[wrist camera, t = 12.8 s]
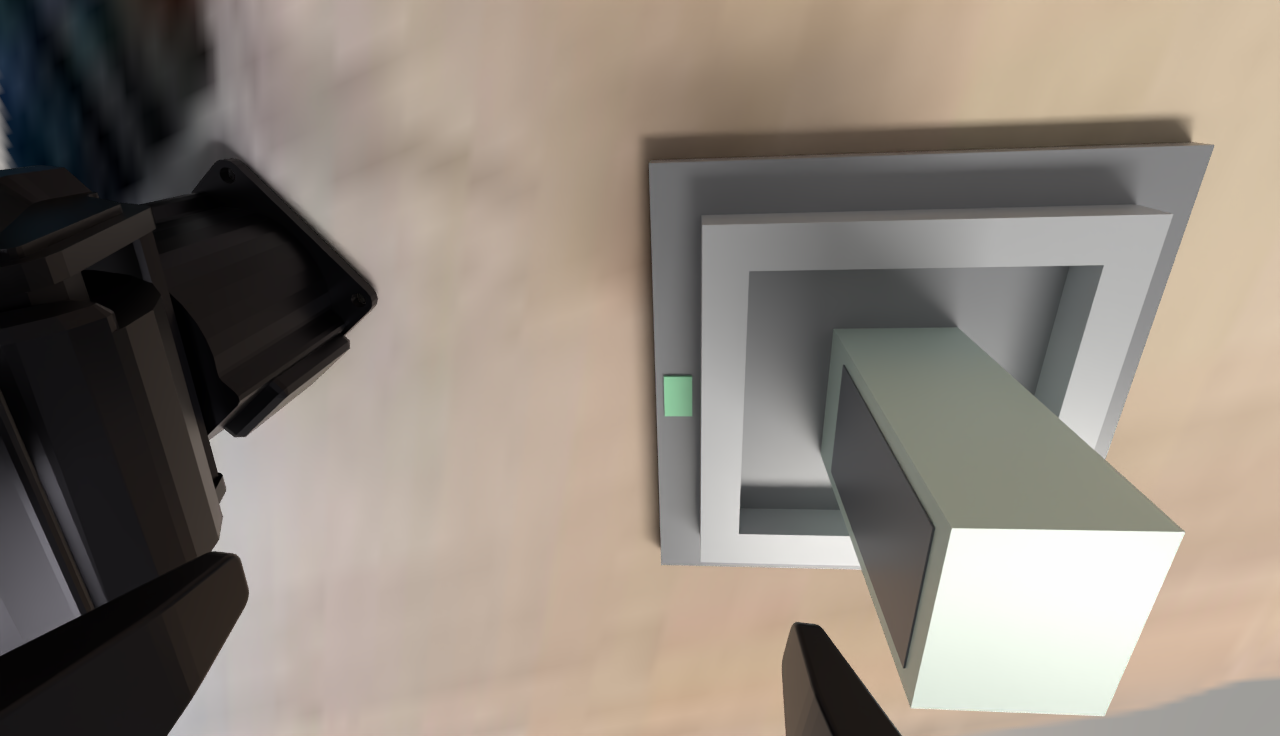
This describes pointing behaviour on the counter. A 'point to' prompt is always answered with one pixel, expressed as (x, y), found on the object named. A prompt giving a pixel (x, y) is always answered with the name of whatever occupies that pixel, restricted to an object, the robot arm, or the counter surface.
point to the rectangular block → (986, 528)
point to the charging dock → (884, 309)
